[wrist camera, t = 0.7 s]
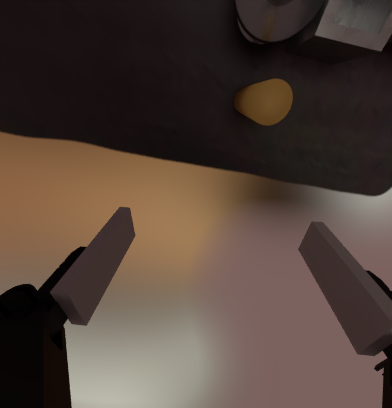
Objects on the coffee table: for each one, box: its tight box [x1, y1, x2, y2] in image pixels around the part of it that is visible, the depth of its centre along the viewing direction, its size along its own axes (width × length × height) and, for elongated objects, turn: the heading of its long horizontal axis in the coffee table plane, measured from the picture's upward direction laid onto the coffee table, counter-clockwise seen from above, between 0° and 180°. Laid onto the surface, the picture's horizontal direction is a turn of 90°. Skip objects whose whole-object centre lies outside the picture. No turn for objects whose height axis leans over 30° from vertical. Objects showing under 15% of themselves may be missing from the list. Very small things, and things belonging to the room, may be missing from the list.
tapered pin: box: [234, 79, 293, 126], centre depth 22 cm, size 4×4×14 cm
